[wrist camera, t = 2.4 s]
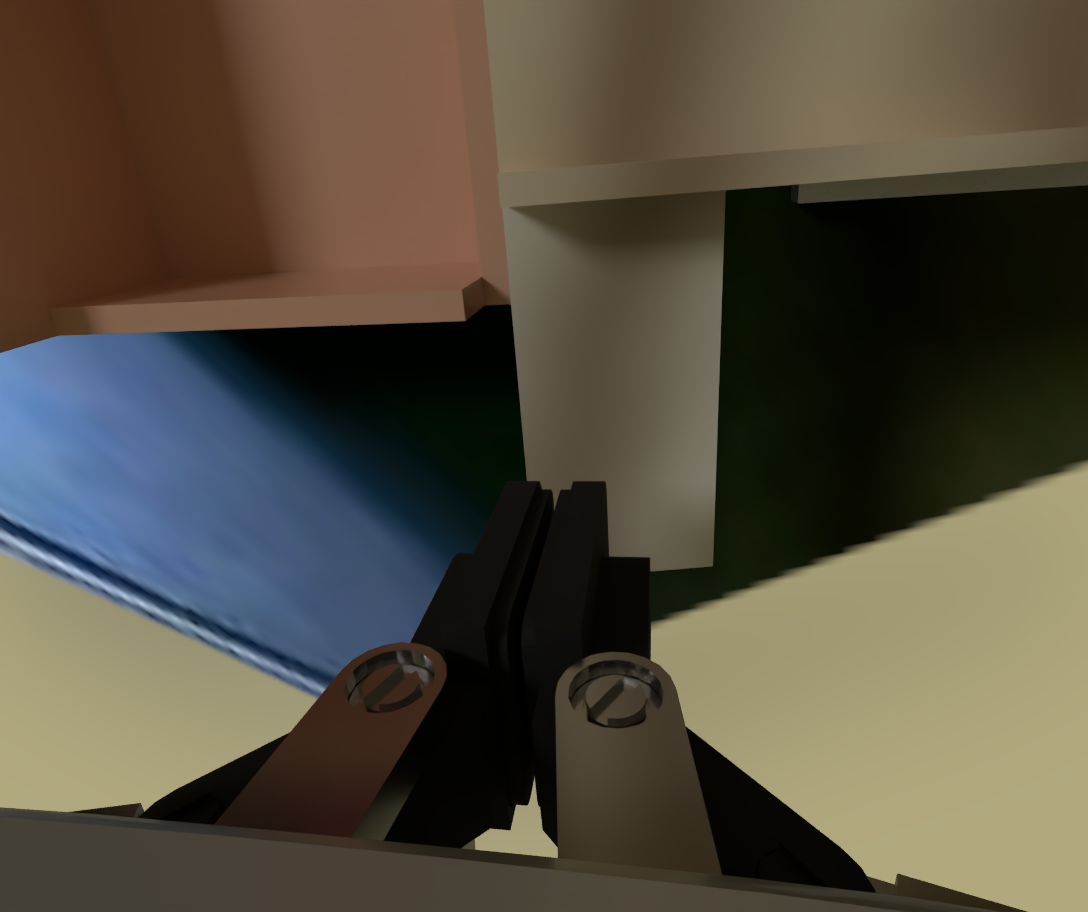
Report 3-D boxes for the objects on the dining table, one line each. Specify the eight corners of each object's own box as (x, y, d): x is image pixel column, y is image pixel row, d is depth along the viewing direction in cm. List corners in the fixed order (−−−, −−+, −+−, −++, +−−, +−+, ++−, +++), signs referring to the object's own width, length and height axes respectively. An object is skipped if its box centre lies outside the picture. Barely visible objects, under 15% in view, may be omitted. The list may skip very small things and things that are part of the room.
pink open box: (494, -283, 17) (367, -600, 10) (536, 279, 23) (475, 339, 15) (28, -188, 20) (-344, -386, 12) (170, 296, 25) (-30, 355, 18)
